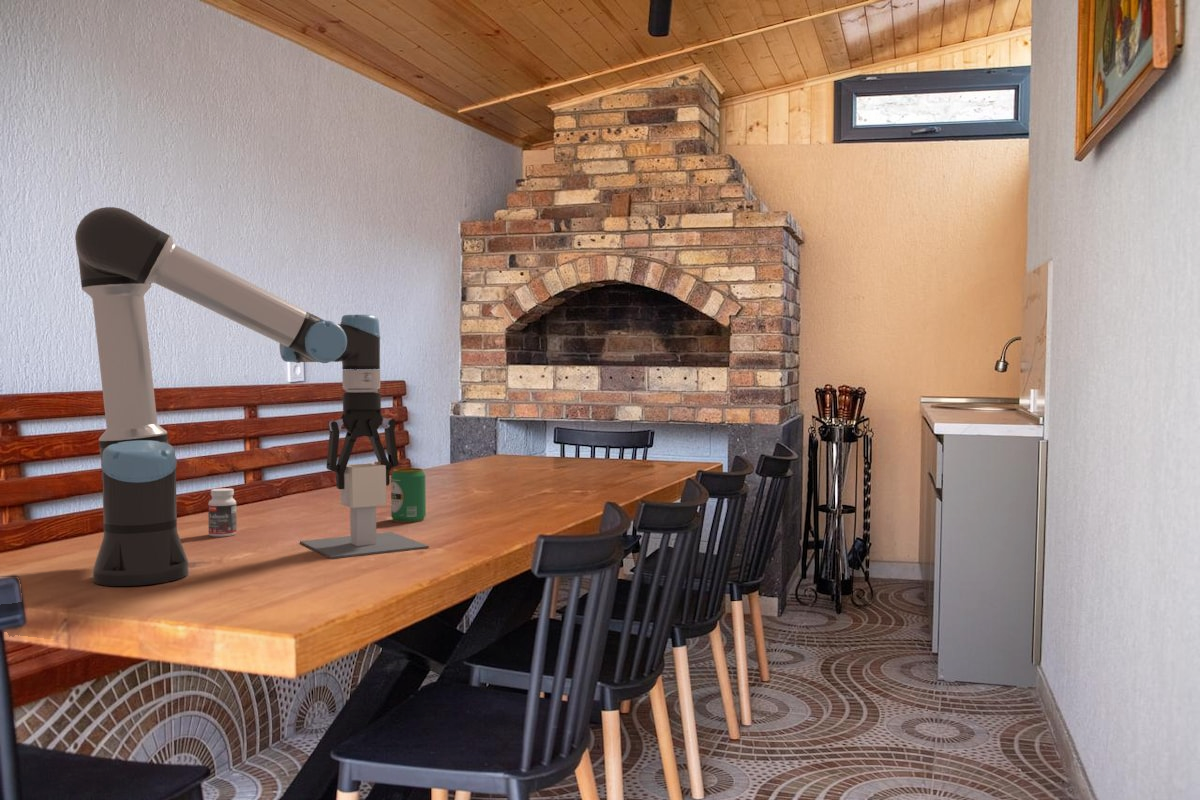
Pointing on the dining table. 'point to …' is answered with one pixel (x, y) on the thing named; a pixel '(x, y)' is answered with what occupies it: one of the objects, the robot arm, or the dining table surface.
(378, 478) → the cream square sleeve
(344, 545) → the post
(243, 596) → the dining table surface
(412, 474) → the beverage can
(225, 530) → the pill bottle
